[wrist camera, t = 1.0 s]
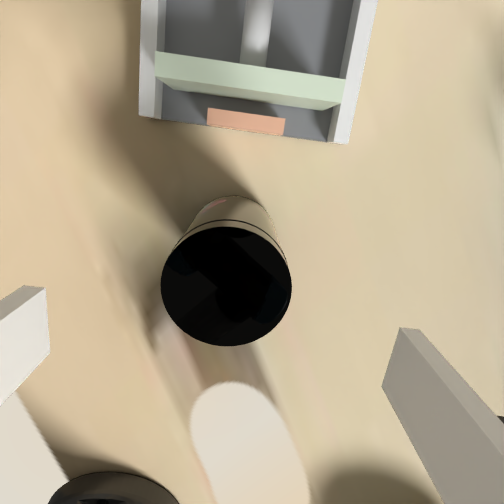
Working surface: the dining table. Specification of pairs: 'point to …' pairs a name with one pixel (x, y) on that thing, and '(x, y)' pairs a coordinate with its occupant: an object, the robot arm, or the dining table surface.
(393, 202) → the dining table surface
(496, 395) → the dining table surface
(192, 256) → the supplement container
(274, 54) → the pusher lane
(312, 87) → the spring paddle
